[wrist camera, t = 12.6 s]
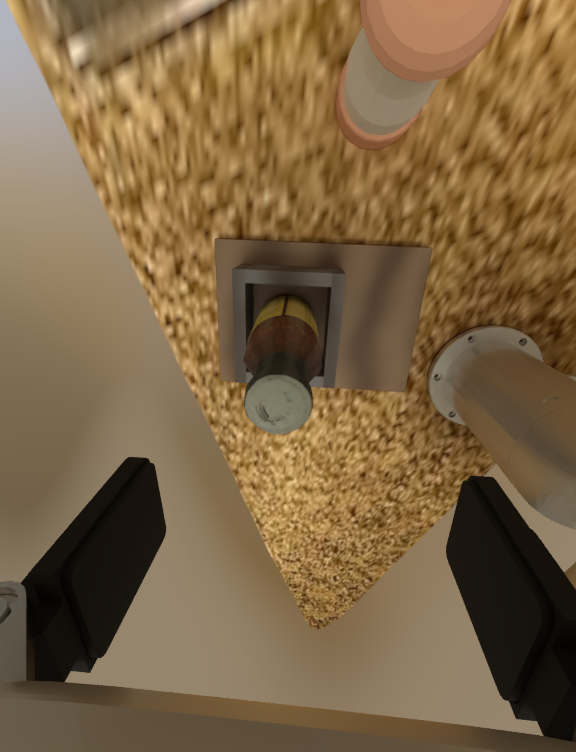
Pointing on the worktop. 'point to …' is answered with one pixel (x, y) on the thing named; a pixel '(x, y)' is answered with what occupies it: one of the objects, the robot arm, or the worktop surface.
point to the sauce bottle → (282, 365)
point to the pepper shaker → (407, 61)
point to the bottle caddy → (327, 305)
